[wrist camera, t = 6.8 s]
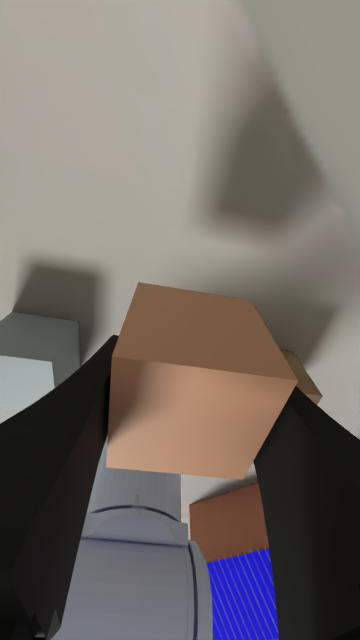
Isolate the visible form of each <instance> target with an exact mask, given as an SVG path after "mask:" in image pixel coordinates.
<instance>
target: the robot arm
mask: <svg viewBox="0 0 360 640" xmlns="http://www.w3.org/2000/svg"><path fill="white" fill-rule="evenodd" d="M118 338H119V336H117V335H113V336H111V337H110V338H109V339H108V340H107V342H106V343H105V344H104V345H103V346H102V347H101V348H100V349H99V350H98V351H97V352H96V353H95V354H94V355H93V356H92V357H91V358H90V359H89V360H88V361H86V362H85V363H84V364H83V365H82V366H81V367H80V368H79V369H78V370H76V371H75V372H74V373H73V374H72V375H70V376H69V377H68V378H67V379H66V380H64V381H63V382H62V383H61V384H59V385H58V386H57V387H55V388H54V389H53V390H51V391H50V392H49V393H47V394H46V395H44V396H43V397H42V398H40V399H39V400H37V401H36V402H34V403H33V404H31V405H30V406H28V407H26V408H25V409H23V410H22V411H20V412H19V413H17V414H16V415H14V416H12V417H11V418H9V419H7V420H6V421H4V422H2V423H1V424H0V640H212V633H213V612H212V595H211V585H210V578H209V572H208V568H207V564H206V561H205V558H204V556H203V554H202V553H201V551H200V549H199V547H198V545H197V543H196V542H195V541H192V540H188V524H187V523H181V474H175V473H164V472H153V471H141V470H130V469H119V468H107V467H106V459H107V440H108V421H109V402H110V383H111V364H112V355H113V352H114V349H115V346H116V343H117V341H118ZM253 462H254V465H255V469H256V473H257V478H258V483H259V489H260V494H261V500H262V505H263V511H264V518H265V524H266V531H267V537H268V544H269V552H270V560H271V567H272V575H273V584H274V594H275V603H276V613H277V623H278V635H279V640H360V440H359V439H358V438H357V437H355V436H354V435H353V434H351V433H350V432H349V431H347V430H346V429H345V428H344V427H342V426H341V425H340V424H338V423H337V422H336V421H335V420H334V419H332V418H331V417H330V416H329V415H328V414H326V413H325V412H324V411H323V410H322V409H321V408H320V407H318V406H317V405H316V404H315V403H314V402H313V401H312V400H311V399H310V398H308V397H307V396H306V395H305V394H304V393H303V392H302V391H301V390H300V389H299V388H298V387H297V386H295V387H294V389H293V391H292V393H291V395H290V396H289V398H288V400H287V402H286V403H285V405H284V407H283V409H282V411H281V412H280V414H279V416H278V418H277V420H276V421H275V423H274V425H273V427H272V428H271V430H270V432H269V434H268V436H267V437H266V439H265V441H264V443H263V444H262V446H261V448H260V450H259V452H258V453H257V455H256V457H255V459H254V461H253Z"/></svg>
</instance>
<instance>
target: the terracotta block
mask: <svg viewBox="0 0 360 640" xmlns="http://www.w3.org/2000/svg"><path fill="white" fill-rule="evenodd" d="M297 382H298V379H297V378H296V376H295V374H294V373H293V371H292V369H291V368H290V366H289V364H288V362H287V361H286V359H285V357H284V356H283V354H282V352H281V351H280V349H279V347H278V345H277V344H276V342H275V340H274V339H273V337H272V335H271V334H270V332H269V330H268V328H267V327H266V325H265V323H264V322H263V320H262V318H261V317H260V315H259V313H258V311H257V310H256V308H255V306H254V305H253V303H252V301H251V300H245V299H239V298H233V297H226V296H220V295H214V294H208V293H202V292H195V291H189V290H183V289H177V288H171V287H165V286H158V285H152V284H146V283H140V282H138V285H137V288H136V291H135V293H134V296H133V299H132V302H131V305H130V307H129V310H128V313H127V316H126V318H125V321H124V324H123V327H122V330H121V332H120V335H119V338H118V341H117V343H116V346H115V349H114V352H113V355H112V364H111V383H110V402H109V421H108V440H107V459H106V467H107V468H119V469H130V470H141V471H153V472H164V473H175V474H186V475H198V476H209V477H220V478H231V479H243V478H244V477H245V475H246V473H247V471H248V469H249V468H250V466H251V464H252V462H253V461H254V459H255V457H256V455H257V453H258V452H259V450H260V448H261V446H262V444H263V443H264V441H265V439H266V437H267V436H268V434H269V432H270V430H271V428H272V427H273V425H274V423H275V421H276V420H277V418H278V416H279V414H280V412H281V411H282V409H283V407H284V405H285V403H286V402H287V400H288V398H289V396H290V395H291V393H292V391H293V389H294V387H295V386H296V384H297Z"/></svg>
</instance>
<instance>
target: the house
mask: <svg viewBox="0 0 360 640" xmlns="http://www.w3.org/2000/svg"><path fill="white" fill-rule="evenodd" d="M189 508H190V535H191V540H192V541H195V542H196V543H197V545H198V547H199V549H200V551H201V553H202V554H203V556H204V558H205V561H206V564H207V568H208V572H209V578H210V585H211V595H212V612H213V635H214V638H215V640H271V639H279V635H278V623H277V613H276V603H275V594H274V584H273V575H272V567H271V560H270V552H269V544H268V537H267V531H266V524H265V518H264V511H263V505H262V500H261V494H260V489H259V483H257V484H254V485H251V486H247V487H244V488H241V489H238V490H235V491H232V492H228V493H225V494H222V495H219V496H216V497H213V498H209V499H206V500H203V501H200V502H197V503H194V504H190V505H189Z"/></svg>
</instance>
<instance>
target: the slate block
mask: <svg viewBox="0 0 360 640" xmlns="http://www.w3.org/2000/svg"><path fill="white" fill-rule="evenodd" d="M79 368H80V350H79V321H73V320H66V319H59V318H52V317H45V316H38V315H31V314H24V313H17V312H11V313H10V314H9V315H8V316H6V317H5V318H4V319H3V320H2V321H0V410H10V411H22V410H23V409H25V408H26V407H28V406H30V405H31V404H33V403H34V402H36V401H37V400H39V399H40V398H42V397H43V396H44V395H46V394H47V393H49V392H50V391H51V390H53V389H54V388H55V387H57V386H58V385H59V384H61V383H62V382H63V381H64V380H66V379H67V378H68V377H69V376H70V375H72V374H73V373H74V372H75V371H76V370H78V369H79Z"/></svg>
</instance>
